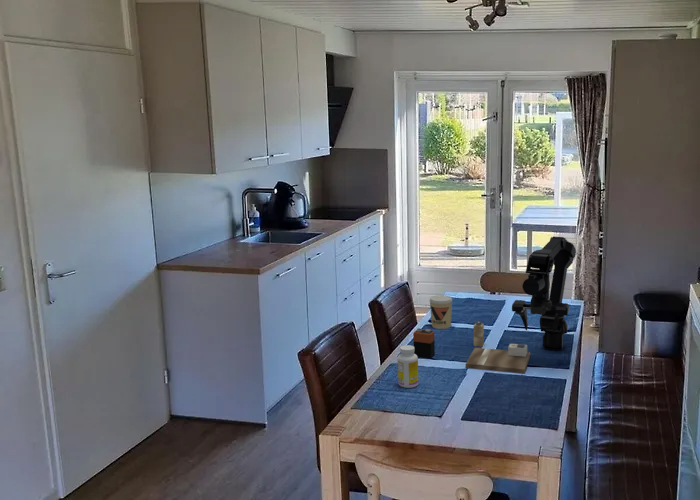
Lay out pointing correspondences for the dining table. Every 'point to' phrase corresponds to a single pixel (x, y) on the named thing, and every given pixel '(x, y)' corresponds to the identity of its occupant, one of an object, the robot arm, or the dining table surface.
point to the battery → (424, 343)
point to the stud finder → (517, 350)
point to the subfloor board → (497, 360)
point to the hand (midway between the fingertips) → (540, 331)
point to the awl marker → (478, 334)
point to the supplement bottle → (407, 367)
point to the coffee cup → (441, 311)
